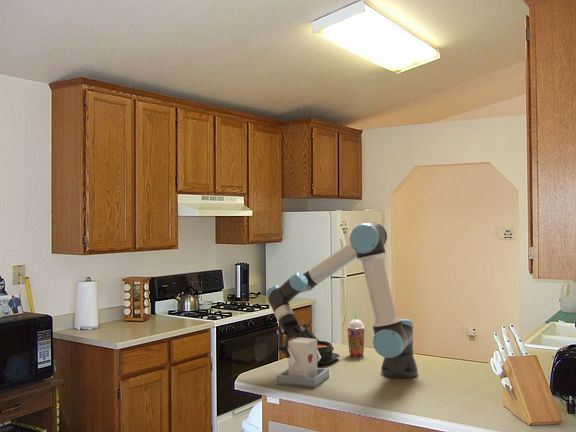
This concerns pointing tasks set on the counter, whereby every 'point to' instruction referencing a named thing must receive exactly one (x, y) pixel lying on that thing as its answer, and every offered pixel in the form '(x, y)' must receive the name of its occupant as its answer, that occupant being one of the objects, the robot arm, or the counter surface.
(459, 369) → the counter surface
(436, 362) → the counter surface
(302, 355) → the supplement box
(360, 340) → the smoothie
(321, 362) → the casserole
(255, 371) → the counter surface
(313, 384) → the tray
